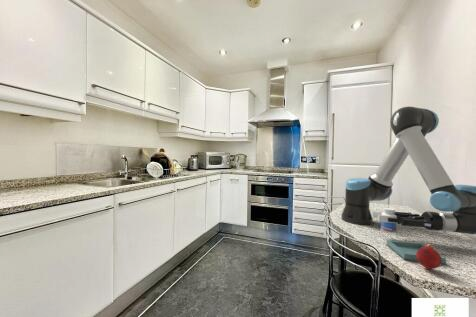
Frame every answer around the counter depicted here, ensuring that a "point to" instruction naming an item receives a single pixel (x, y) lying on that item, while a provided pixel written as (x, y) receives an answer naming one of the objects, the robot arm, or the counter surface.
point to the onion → (428, 257)
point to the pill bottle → (385, 225)
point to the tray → (408, 250)
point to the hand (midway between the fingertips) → (375, 216)
